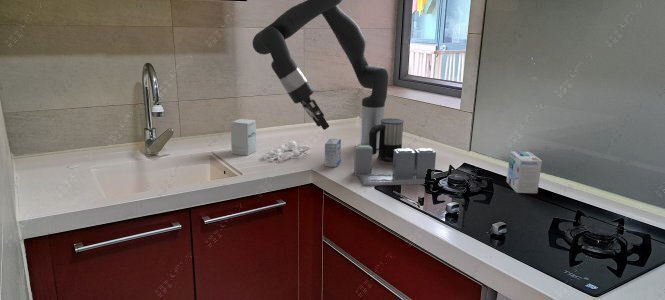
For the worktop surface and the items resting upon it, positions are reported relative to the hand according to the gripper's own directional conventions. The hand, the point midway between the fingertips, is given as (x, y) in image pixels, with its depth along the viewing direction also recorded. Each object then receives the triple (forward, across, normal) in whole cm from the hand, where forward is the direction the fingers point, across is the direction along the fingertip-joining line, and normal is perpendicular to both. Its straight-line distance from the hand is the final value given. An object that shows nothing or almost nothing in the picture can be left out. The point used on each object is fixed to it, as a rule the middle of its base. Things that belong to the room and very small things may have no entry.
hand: (323, 126), depth 157 cm
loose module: (+22, +1, -2) cm, 22 cm away
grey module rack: (+27, -8, -10) cm, 30 cm away
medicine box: (+17, +14, +3) cm, 22 cm away
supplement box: (-1, +35, +28) cm, 45 cm away
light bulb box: (+49, -22, -40) cm, 67 cm away
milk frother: (+30, +13, -16) cm, 36 cm away
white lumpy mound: (+8, +27, +15) cm, 32 cm away
